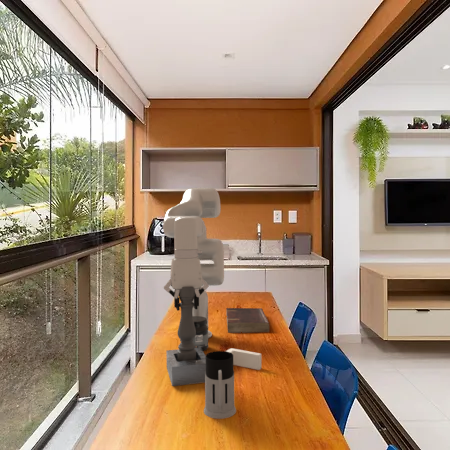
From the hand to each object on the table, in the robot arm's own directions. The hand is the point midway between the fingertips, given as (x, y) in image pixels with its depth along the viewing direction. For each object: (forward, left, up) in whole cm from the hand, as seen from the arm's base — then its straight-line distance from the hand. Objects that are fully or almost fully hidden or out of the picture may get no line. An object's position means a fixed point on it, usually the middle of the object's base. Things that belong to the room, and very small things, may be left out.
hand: (186, 308), depth 136 cm
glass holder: (+30, +4, -22) cm, 38 cm away
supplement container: (-25, +7, -22) cm, 34 cm away
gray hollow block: (0, 0, -22) cm, 22 cm away
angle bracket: (-2, +17, -22) cm, 28 cm away
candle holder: (0, 0, -18) cm, 18 cm away
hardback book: (-55, +37, -23) cm, 70 cm away
